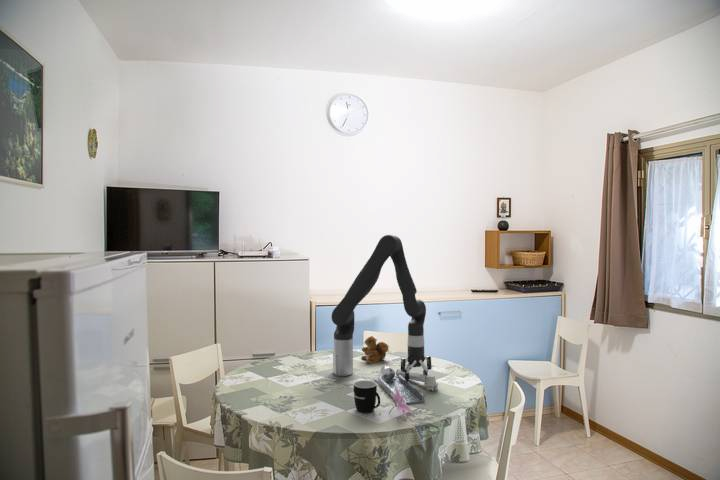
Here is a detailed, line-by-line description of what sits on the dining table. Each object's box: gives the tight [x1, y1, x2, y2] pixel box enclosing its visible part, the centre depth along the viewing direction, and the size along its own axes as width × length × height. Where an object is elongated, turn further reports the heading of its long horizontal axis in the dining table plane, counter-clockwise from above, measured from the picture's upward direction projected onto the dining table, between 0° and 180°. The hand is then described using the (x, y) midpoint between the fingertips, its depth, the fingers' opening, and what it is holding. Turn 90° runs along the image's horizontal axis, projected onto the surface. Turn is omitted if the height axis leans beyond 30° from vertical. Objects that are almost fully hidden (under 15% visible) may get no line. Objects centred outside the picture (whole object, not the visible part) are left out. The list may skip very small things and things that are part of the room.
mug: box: [353, 379, 381, 414], centre depth 173 cm, size 12×9×10 cm
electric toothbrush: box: [395, 368, 439, 392], centre depth 205 cm, size 5×7×25 cm
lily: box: [388, 385, 412, 420], centre depth 170 cm, size 12×12×10 cm
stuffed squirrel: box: [360, 335, 389, 364], centre depth 242 cm, size 10×14×13 cm
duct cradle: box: [374, 365, 426, 405], centre depth 196 cm, size 32×11×6 cm, turn 16°
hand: (416, 379), depth 205 cm, fingers open, 8 cm apart
